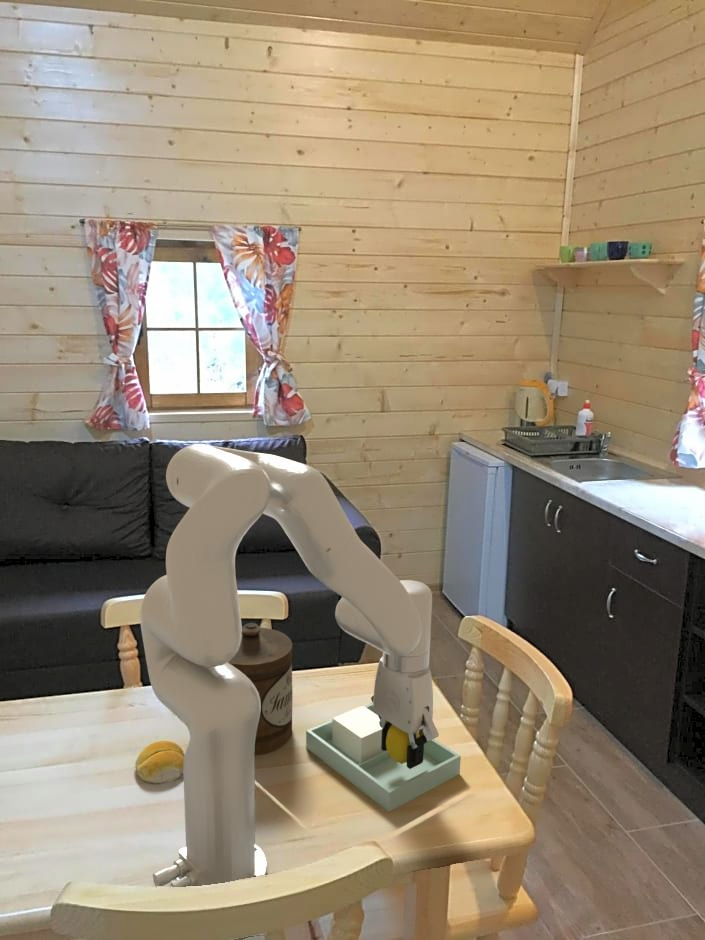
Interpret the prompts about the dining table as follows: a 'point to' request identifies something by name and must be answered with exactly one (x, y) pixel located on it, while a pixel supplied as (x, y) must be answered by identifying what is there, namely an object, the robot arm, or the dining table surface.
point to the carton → (358, 733)
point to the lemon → (398, 744)
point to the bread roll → (160, 762)
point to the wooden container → (268, 682)
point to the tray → (386, 768)
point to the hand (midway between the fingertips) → (401, 755)
